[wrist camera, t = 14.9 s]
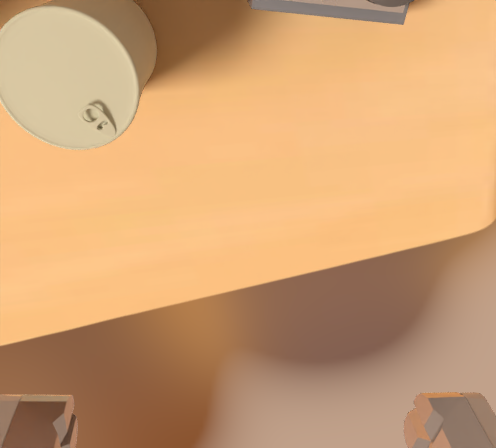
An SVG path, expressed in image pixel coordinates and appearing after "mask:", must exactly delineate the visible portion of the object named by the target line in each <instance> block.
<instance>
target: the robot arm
mask: <svg viewBox="0 0 496 448" xmlns="http://www.w3.org/2000/svg"><path fill="white" fill-rule="evenodd" d="M414 405H415V407H416V408H415V409H413V410H412V411H410V412H408V414H407V416H406V418H405V421H404V436H405V441H406V444H407V447H408V448H496V415H495V414H494V412H493V410H492V409H491V407H490V405H489V403H488V402H487V400H486V399H485V397H484V396H483V395H481V394H480V393H457V392H450V393H449V392H447V393H420V394H419V395H417V396H416V398H415V400H414ZM73 408H74V400H73V396H72V395H24V394H23V395H22V394H19V395H0V448H75V447H76V439H77V417H76V416H75V415H74V414H73V413H72V412H73Z"/></svg>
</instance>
